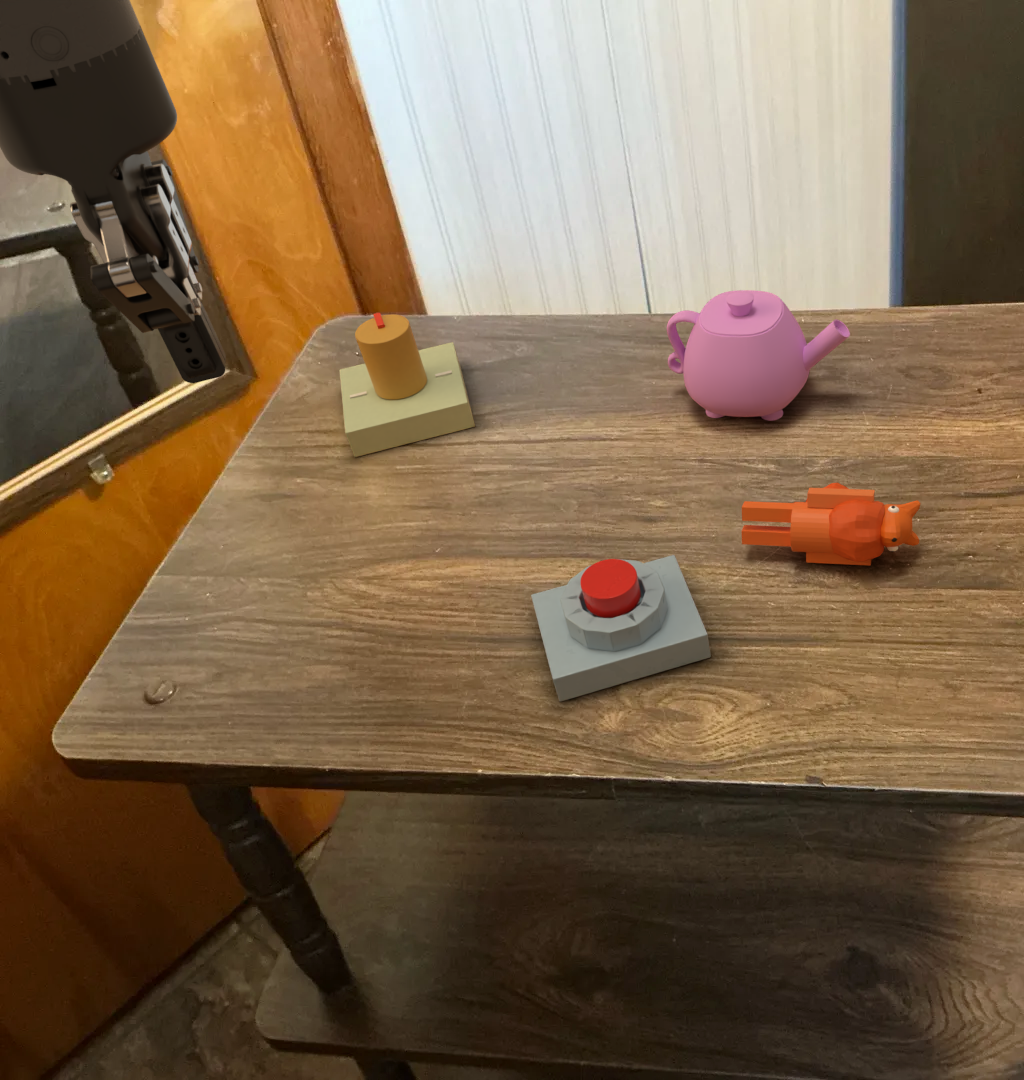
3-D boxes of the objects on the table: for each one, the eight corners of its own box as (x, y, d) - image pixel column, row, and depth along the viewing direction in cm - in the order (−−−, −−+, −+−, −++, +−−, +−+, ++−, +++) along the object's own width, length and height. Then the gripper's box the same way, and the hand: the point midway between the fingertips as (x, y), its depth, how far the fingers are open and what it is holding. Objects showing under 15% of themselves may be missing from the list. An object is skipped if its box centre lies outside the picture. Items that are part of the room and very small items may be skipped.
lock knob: (432, 390, 95) (412, 330, 91) (380, 405, 94) (358, 345, 90) (421, 364, 98) (402, 305, 94) (371, 379, 97) (349, 320, 93)
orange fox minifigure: (734, 502, 75) (919, 510, 73) (753, 464, 82) (923, 469, 80) (736, 572, 77) (916, 581, 75) (755, 528, 84) (920, 535, 82)
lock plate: (354, 457, 93) (344, 431, 91) (348, 393, 100) (338, 367, 99) (475, 426, 95) (467, 400, 93) (460, 365, 102) (452, 340, 100)
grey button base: (559, 702, 72) (546, 660, 69) (537, 617, 77) (524, 574, 75) (711, 657, 73) (704, 614, 70) (678, 577, 79) (671, 534, 76)
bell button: (591, 624, 71) (586, 604, 70) (580, 587, 74) (574, 567, 73) (647, 608, 72) (643, 588, 71) (633, 572, 74) (629, 552, 73)
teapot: (686, 358, 99) (673, 261, 93) (859, 364, 96) (857, 264, 90) (657, 430, 92) (640, 330, 86) (842, 439, 89) (839, 336, 82)
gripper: (-17, 11, 53) (144, 329, 65) (-79, 109, 44) (123, 462, 55) (148, -20, 55) (277, 299, 66) (123, 69, 45) (279, 423, 57)
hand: (207, 373), depth 61 cm, fingers closed
